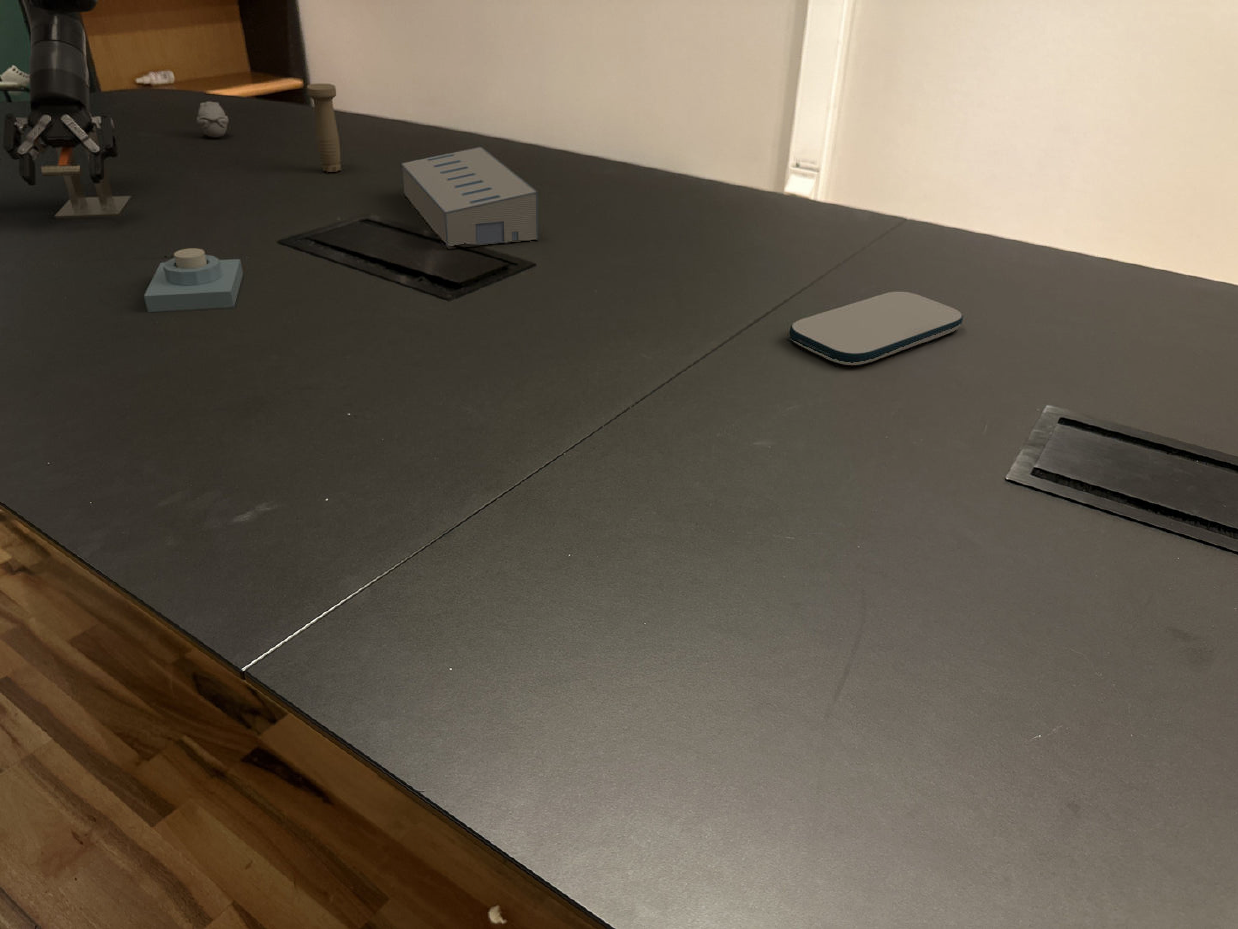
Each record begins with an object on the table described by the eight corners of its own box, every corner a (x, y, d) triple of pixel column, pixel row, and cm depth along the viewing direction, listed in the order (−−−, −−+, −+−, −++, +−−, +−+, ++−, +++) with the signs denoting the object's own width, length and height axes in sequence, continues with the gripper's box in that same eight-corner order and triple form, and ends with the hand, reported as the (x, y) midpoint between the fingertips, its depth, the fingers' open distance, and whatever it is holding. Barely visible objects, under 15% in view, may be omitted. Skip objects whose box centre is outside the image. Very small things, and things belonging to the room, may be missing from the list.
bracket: (120, 221, 141) (94, 122, 133) (56, 223, 138) (26, 122, 131) (132, 203, 149) (109, 108, 141) (72, 205, 147) (45, 109, 139)
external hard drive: (898, 301, 123) (901, 287, 122) (970, 330, 115) (974, 315, 114) (777, 339, 111) (779, 324, 110) (849, 374, 103) (852, 359, 102)
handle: (320, 176, 166) (308, 90, 159) (317, 167, 172) (306, 83, 164) (347, 175, 168) (336, 89, 160) (343, 166, 173) (333, 83, 165)
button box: (234, 307, 113) (227, 277, 111) (148, 312, 111) (140, 281, 109) (243, 274, 123) (237, 245, 121) (164, 278, 121) (157, 249, 119)
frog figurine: (230, 132, 193) (223, 98, 190) (232, 140, 188) (226, 104, 184) (199, 134, 191) (192, 99, 187) (201, 141, 186) (194, 106, 182)
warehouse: (403, 196, 157) (399, 151, 153) (483, 189, 163) (481, 146, 159) (447, 250, 134) (443, 199, 130) (538, 240, 140) (537, 191, 136)
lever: (83, 180, 131) (77, 165, 129) (45, 181, 130) (39, 166, 128) (94, 129, 139) (89, 115, 137) (58, 130, 138) (52, 115, 136)
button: (205, 270, 114) (202, 256, 113) (174, 271, 113) (171, 258, 112) (208, 260, 117) (206, 247, 116) (179, 261, 116) (176, 248, 115)
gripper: (-6, 66, 128) (-5, 169, 125) (103, 66, 131) (107, 166, 128) (17, 98, 135) (19, 196, 132) (120, 97, 138) (125, 193, 135)
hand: (62, 181), depth 130 cm, fingers open, 8 cm apart
